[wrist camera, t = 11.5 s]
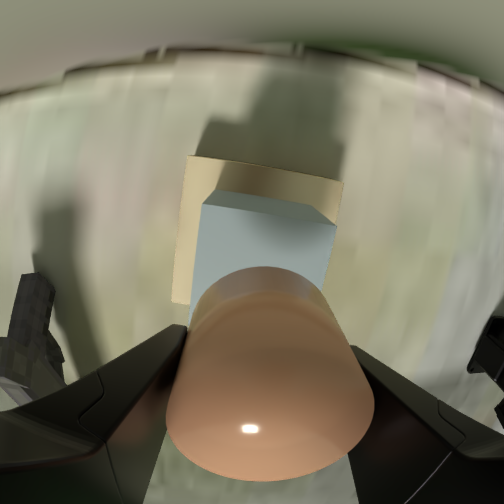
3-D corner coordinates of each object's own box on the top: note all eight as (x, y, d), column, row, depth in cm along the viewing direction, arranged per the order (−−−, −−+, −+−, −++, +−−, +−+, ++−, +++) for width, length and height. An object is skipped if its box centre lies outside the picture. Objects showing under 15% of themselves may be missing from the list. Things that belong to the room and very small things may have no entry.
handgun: (52, 263, 21) (-8, 363, 13) (150, 421, 34) (142, 492, 26) (19, 268, 21) (-40, 358, 13) (122, 419, 34) (111, 488, 26)
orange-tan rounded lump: (355, 291, 9) (412, 371, 6) (298, 396, 11) (316, 487, 7) (214, 245, 9) (194, 316, 5) (177, 365, 10) (152, 459, 6)
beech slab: (332, 179, 20) (344, 182, 18) (304, 304, 23) (310, 321, 20) (194, 155, 19) (187, 155, 17) (178, 286, 22) (171, 301, 20)
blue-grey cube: (310, 205, 18) (336, 226, 13) (291, 293, 20) (307, 341, 14) (214, 189, 18) (201, 203, 12) (202, 279, 19) (187, 325, 14)
